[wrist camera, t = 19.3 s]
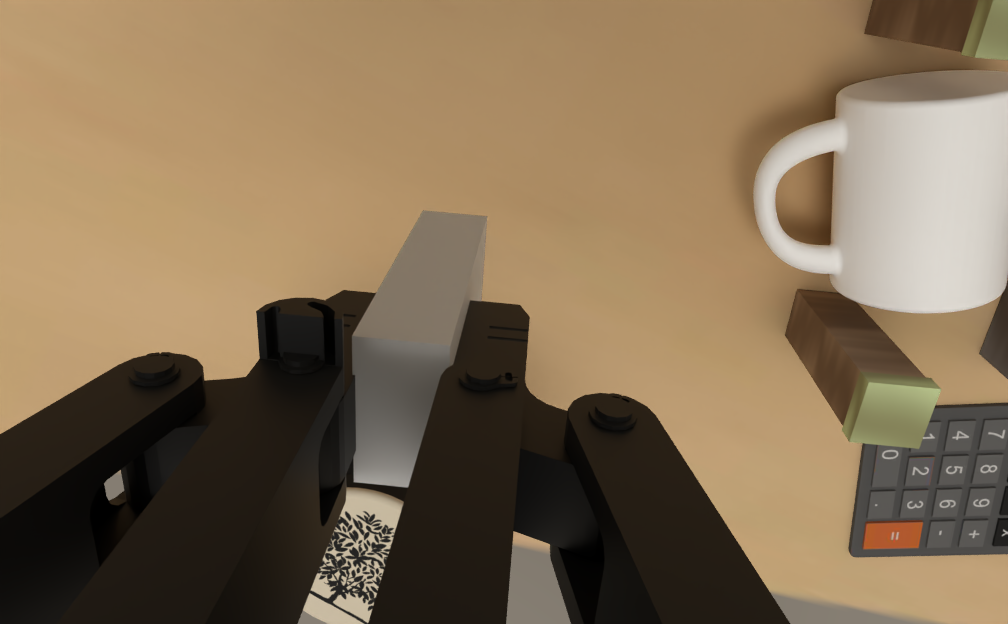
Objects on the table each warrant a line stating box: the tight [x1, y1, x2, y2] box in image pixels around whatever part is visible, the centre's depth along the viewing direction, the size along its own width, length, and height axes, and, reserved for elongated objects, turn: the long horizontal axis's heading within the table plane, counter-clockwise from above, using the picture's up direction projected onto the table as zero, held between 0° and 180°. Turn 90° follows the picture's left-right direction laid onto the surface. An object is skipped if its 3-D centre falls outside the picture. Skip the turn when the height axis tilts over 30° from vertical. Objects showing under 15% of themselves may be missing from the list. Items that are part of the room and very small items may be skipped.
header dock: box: [785, 0, 1008, 449], centre depth 35 cm, size 20×13×11 cm, turn 176°
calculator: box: [849, 403, 1008, 557], centre depth 48 cm, size 12×1×15 cm
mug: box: [753, 70, 1008, 313], centre depth 36 cm, size 12×10×8 cm
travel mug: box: [303, 459, 408, 624], centre depth 38 cm, size 8×8×18 cm
